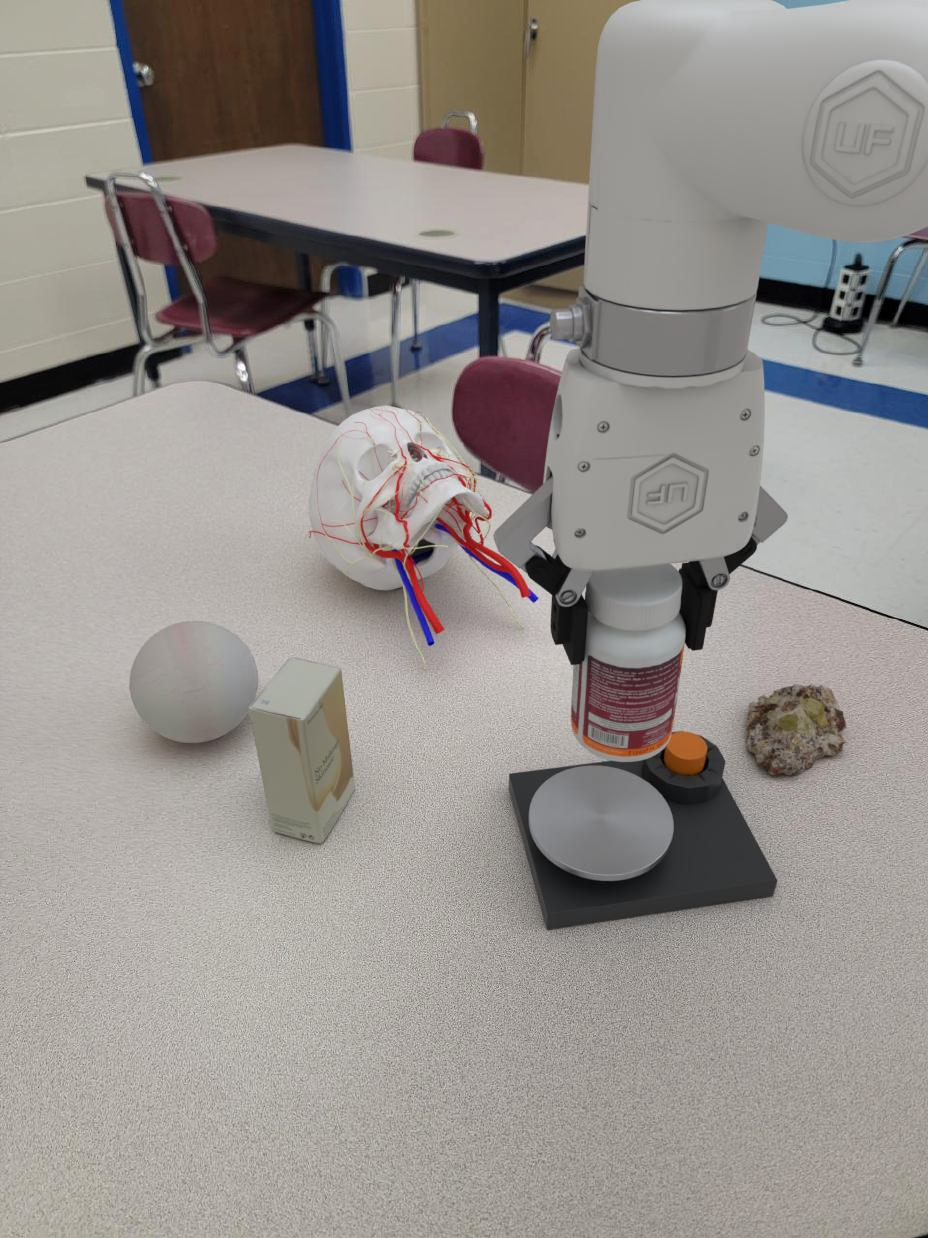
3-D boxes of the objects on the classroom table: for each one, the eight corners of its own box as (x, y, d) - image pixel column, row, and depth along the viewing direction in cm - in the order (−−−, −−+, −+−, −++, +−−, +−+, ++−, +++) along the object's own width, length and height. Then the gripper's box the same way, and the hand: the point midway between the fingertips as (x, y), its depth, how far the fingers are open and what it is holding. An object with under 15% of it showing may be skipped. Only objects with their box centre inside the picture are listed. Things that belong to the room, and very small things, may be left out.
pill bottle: (691, 746, 54) (717, 590, 47) (604, 780, 52) (618, 622, 45) (634, 686, 59) (650, 537, 52) (551, 715, 57) (557, 563, 50)
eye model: (138, 706, 79) (110, 613, 73) (253, 677, 82) (235, 586, 76) (151, 783, 72) (121, 686, 66) (277, 748, 75) (259, 653, 69)
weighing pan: (646, 763, 68) (646, 757, 67) (694, 869, 60) (695, 864, 59) (515, 780, 67) (515, 774, 66) (546, 891, 59) (547, 885, 58)
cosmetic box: (322, 847, 66) (302, 723, 59) (270, 833, 67) (243, 710, 60) (358, 785, 71) (343, 664, 64) (309, 773, 72) (289, 653, 65)
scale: (701, 759, 73) (707, 727, 71) (773, 896, 62) (783, 863, 60) (507, 784, 71) (507, 752, 69) (546, 930, 60) (548, 897, 58)
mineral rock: (766, 663, 79) (861, 676, 74) (771, 703, 81) (864, 719, 76) (714, 735, 72) (816, 756, 67) (721, 778, 74) (820, 801, 69)
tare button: (695, 745, 70) (698, 729, 69) (710, 773, 67) (713, 756, 66) (658, 750, 69) (660, 734, 68) (671, 778, 67) (674, 761, 66)
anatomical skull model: (416, 560, 70) (276, 398, 84) (404, 710, 83) (285, 550, 97) (577, 501, 77) (424, 361, 91) (543, 648, 91) (414, 507, 104)
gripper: (492, 372, 37) (492, 704, 47) (886, 341, 39) (802, 666, 49) (462, 315, 43) (468, 621, 53) (805, 291, 45) (745, 590, 55)
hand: (629, 640), depth 51 cm, fingers closed on pill bottle, 6 cm apart
